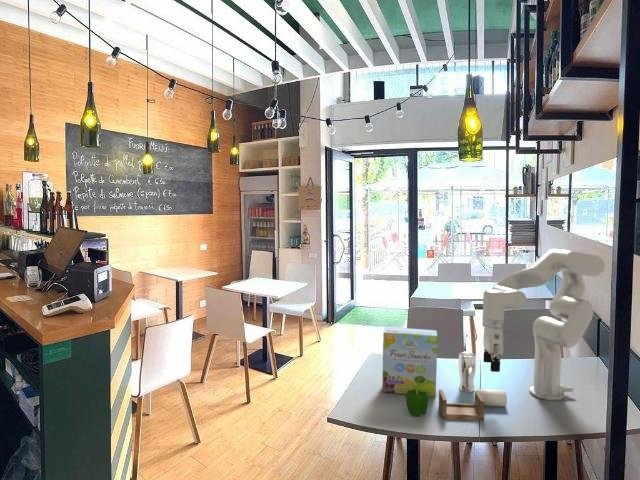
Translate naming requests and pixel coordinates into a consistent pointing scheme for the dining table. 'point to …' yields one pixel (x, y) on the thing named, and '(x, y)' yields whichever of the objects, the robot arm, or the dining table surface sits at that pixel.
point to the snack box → (409, 360)
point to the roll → (493, 397)
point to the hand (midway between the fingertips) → (491, 366)
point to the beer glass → (467, 371)
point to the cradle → (462, 408)
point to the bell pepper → (417, 401)
